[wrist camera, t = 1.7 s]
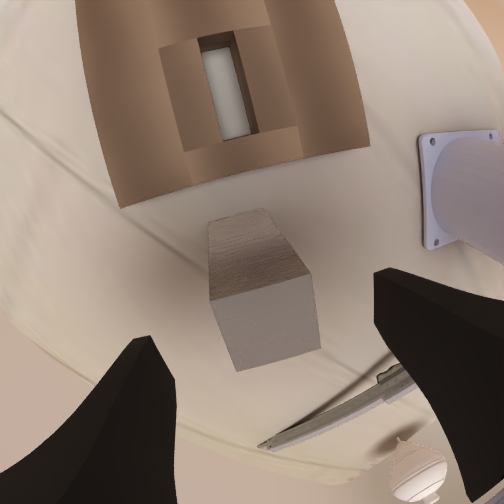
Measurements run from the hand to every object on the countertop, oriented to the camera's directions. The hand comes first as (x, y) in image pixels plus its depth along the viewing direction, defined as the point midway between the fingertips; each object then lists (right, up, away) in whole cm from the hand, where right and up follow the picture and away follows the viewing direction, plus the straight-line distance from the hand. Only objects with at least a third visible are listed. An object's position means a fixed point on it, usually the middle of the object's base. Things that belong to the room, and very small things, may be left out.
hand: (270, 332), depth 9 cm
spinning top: (+19, -22, +21) cm, 36 cm away
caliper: (+7, -10, +15) cm, 19 cm away
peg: (-1, +3, +8) cm, 8 cm away
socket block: (-3, +14, +3) cm, 15 cm away
